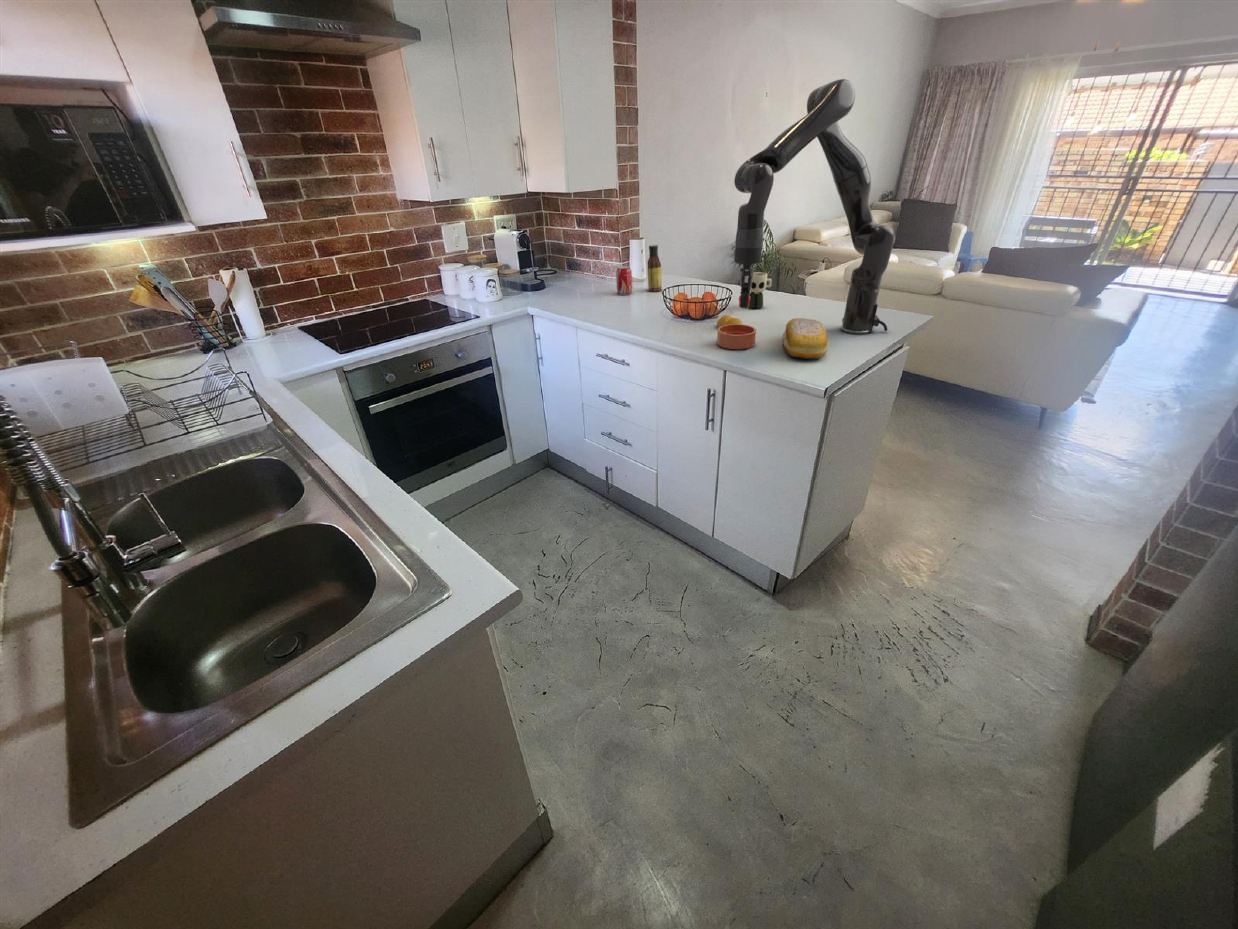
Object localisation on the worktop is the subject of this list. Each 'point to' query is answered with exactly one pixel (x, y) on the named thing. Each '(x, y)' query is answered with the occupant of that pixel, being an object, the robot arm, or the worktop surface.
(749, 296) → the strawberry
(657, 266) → the sauce bottle
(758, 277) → the character mug
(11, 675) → the worktop surface
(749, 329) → the bowl
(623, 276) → the soda can
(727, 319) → the bread roll
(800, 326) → the bread
